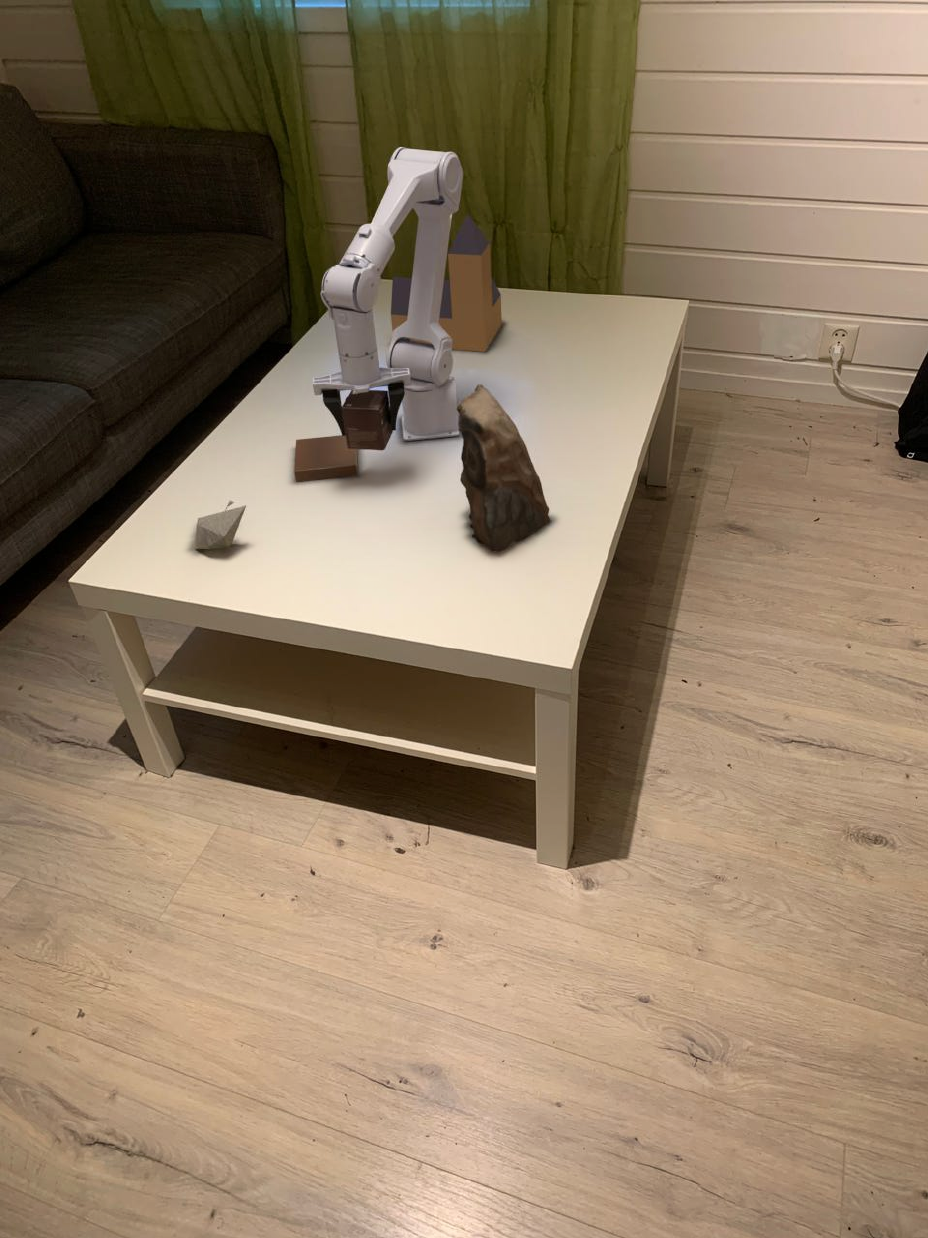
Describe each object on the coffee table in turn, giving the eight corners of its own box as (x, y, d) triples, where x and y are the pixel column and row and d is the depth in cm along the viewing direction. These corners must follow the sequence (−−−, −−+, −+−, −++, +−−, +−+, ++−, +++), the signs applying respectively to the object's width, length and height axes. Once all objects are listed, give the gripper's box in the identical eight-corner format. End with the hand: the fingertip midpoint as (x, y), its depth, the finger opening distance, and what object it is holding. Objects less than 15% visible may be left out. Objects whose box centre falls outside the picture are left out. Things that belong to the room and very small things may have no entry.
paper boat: (167, 544, 149) (191, 498, 154) (200, 569, 153) (223, 523, 157) (213, 524, 141) (237, 476, 146) (247, 551, 145) (270, 503, 150)
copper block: (356, 443, 170) (355, 433, 169) (357, 475, 163) (356, 465, 162) (297, 449, 170) (295, 439, 169) (296, 481, 162) (294, 471, 161)
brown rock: (493, 559, 144) (487, 436, 131) (434, 524, 151) (424, 405, 138) (553, 521, 150) (554, 401, 137) (494, 489, 157) (489, 372, 144)
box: (384, 451, 155) (378, 409, 150) (346, 449, 156) (340, 407, 151) (393, 431, 159) (388, 389, 154) (357, 429, 160) (351, 388, 155)
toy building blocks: (485, 351, 194) (479, 220, 178) (393, 344, 198) (380, 215, 182) (501, 324, 203) (497, 196, 187) (413, 317, 207) (402, 192, 191)
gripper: (307, 365, 144) (321, 448, 153) (408, 355, 145) (416, 438, 153) (308, 344, 149) (322, 424, 158) (405, 334, 150) (413, 415, 159)
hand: (368, 429), depth 156 cm, fingers closed on box, 7 cm apart
